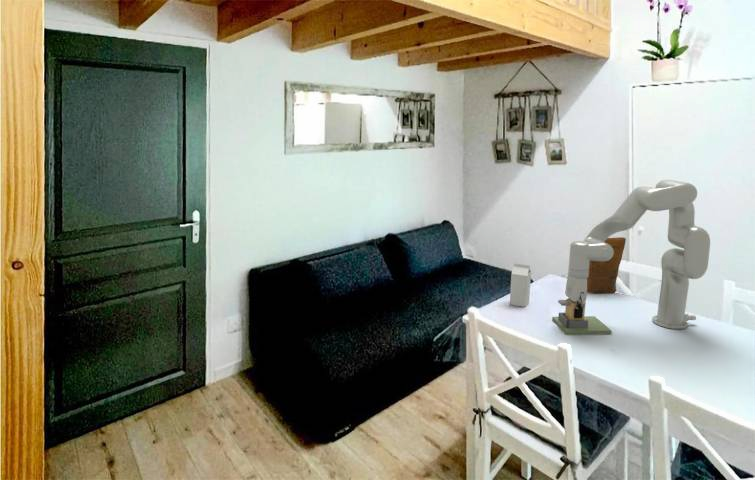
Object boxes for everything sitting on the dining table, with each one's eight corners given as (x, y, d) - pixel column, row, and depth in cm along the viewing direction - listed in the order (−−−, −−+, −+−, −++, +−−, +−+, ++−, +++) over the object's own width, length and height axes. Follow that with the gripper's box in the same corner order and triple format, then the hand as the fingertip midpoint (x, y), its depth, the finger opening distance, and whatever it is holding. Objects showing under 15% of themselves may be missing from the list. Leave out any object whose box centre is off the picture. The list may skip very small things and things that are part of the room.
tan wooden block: (577, 319, 198) (579, 298, 196) (583, 324, 193) (585, 303, 191) (556, 319, 198) (557, 298, 196) (561, 324, 193) (562, 303, 191)
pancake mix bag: (623, 294, 234) (629, 238, 228) (584, 294, 234) (589, 238, 228) (616, 289, 241) (622, 235, 235) (578, 290, 241) (583, 235, 235)
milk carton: (525, 307, 218) (527, 267, 214) (509, 304, 222) (511, 265, 217) (529, 302, 224) (531, 263, 220) (513, 300, 227) (516, 261, 223)
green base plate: (594, 319, 203) (595, 309, 202) (611, 334, 189) (612, 323, 188) (552, 320, 203) (552, 310, 202) (565, 334, 189) (566, 323, 188)
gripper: (560, 266, 199) (557, 307, 203) (577, 278, 182) (574, 323, 186) (578, 266, 199) (575, 307, 203) (597, 278, 182) (593, 323, 186)
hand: (574, 314), depth 195 cm, fingers open, 5 cm apart
